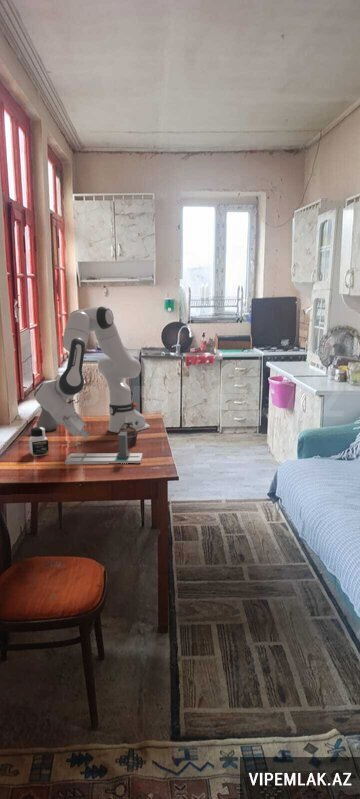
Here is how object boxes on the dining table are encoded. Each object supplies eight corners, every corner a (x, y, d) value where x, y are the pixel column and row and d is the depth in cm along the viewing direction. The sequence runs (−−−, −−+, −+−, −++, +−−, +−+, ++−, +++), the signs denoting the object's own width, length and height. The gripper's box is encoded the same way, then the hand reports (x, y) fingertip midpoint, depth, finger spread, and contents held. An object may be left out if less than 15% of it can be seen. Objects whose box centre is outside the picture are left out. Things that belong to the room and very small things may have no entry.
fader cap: (116, 458, 211) (115, 435, 209) (118, 453, 217) (118, 431, 215) (128, 458, 211) (127, 435, 209) (130, 453, 217) (129, 431, 215)
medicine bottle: (33, 456, 220) (31, 430, 218) (29, 452, 226) (27, 427, 224) (49, 454, 223) (47, 428, 221) (45, 450, 230) (43, 425, 227)
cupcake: (116, 441, 242) (115, 421, 240) (135, 439, 245) (134, 419, 243) (120, 447, 233) (119, 426, 231) (140, 444, 237) (139, 424, 235)
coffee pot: (39, 433, 259) (37, 405, 256) (35, 428, 269) (33, 401, 266) (79, 428, 267) (78, 401, 264) (74, 423, 278) (73, 397, 275)
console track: (65, 464, 210) (65, 460, 210) (70, 456, 220) (70, 453, 219) (140, 463, 209) (140, 460, 209) (142, 456, 219) (142, 452, 219)
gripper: (67, 413, 201) (91, 437, 203) (73, 406, 221) (95, 428, 224) (56, 424, 201) (80, 448, 204) (63, 416, 221) (85, 437, 224)
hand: (88, 437), depth 214 cm, fingers closed
